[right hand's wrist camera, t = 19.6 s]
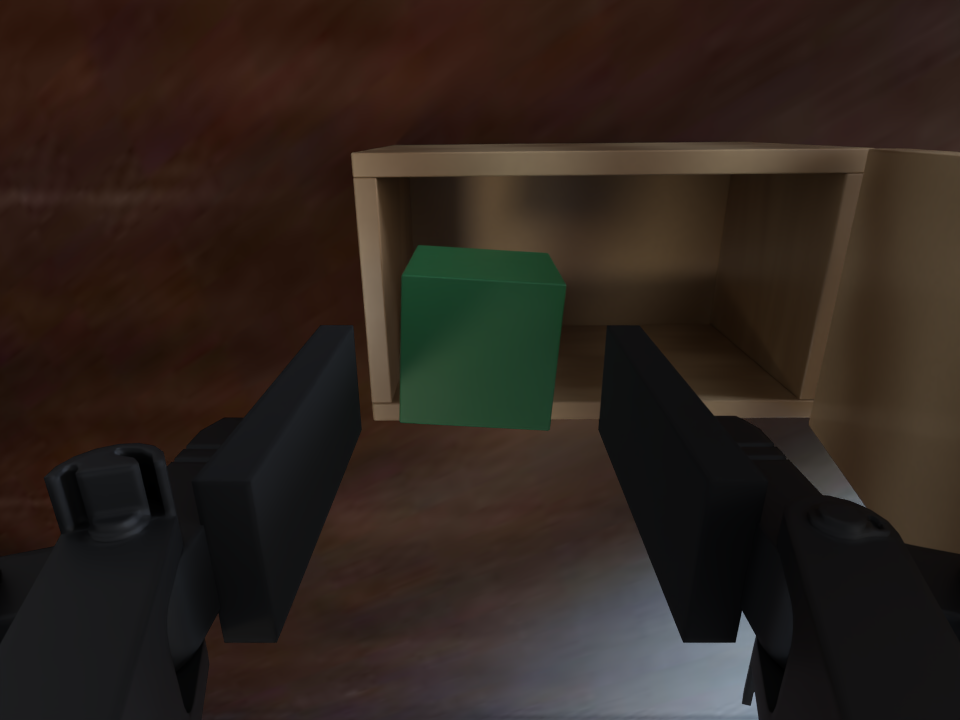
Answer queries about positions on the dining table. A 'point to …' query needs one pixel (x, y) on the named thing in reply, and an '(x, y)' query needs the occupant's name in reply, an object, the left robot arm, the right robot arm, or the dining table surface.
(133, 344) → the dining table surface
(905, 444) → the lid
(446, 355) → the block
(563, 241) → the chest
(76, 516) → the right robot arm
